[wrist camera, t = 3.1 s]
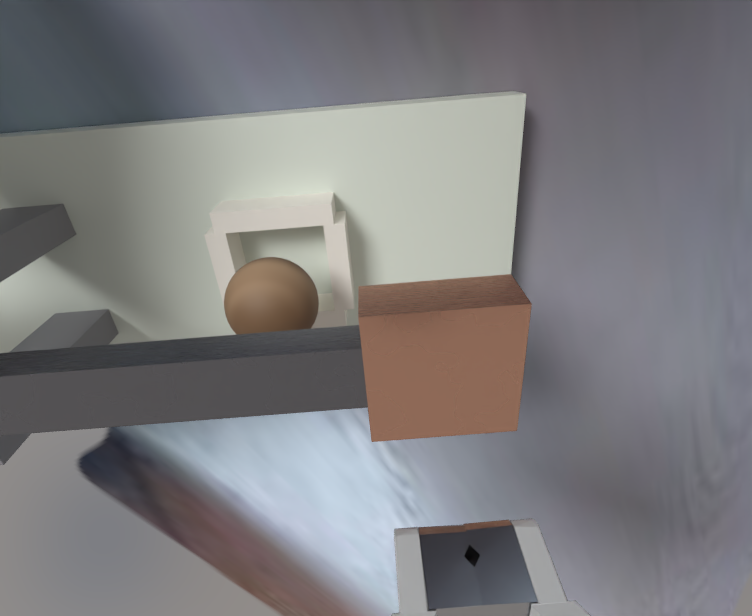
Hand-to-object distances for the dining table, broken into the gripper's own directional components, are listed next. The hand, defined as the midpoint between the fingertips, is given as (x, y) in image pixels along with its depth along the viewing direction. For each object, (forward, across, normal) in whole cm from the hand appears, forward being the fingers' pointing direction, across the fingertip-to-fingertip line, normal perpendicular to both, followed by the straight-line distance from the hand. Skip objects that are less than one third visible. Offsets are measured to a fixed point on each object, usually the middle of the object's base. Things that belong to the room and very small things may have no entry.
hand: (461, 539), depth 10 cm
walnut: (+13, +6, 0) cm, 15 cm away
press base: (+18, +9, 0) cm, 20 cm away
